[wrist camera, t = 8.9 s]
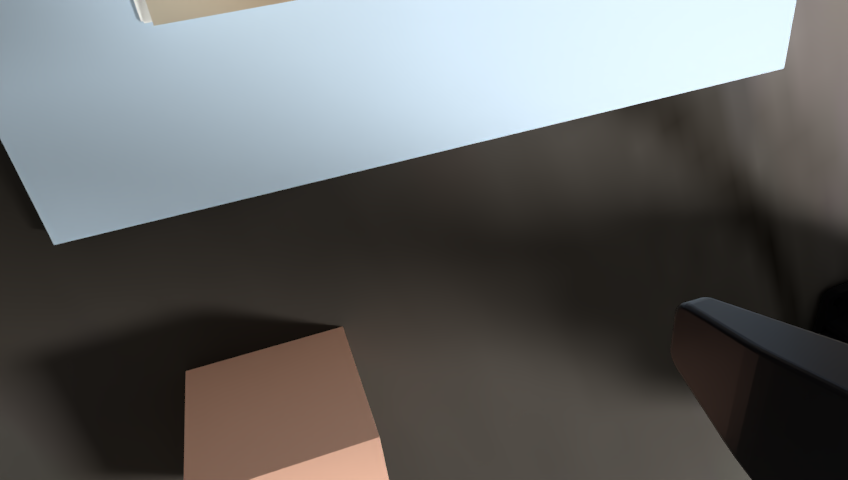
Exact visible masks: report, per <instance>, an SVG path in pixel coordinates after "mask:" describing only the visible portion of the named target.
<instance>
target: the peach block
mask: <svg viewBox="0 0 848 480" xmlns="http://www.w3.org/2000/svg"><path fill="white" fill-rule="evenodd" d="M184 480H389V478H388V474H387V469H386V464H385V460H384V455H383V451H382V446H381V441H380V437H379V434H378V431H377V428H376V425H375V422H374V419H373V416H372V413H371V410H370V407H369V404H368V401H367V398H366V395H365V392H364V389H363V386H362V383H361V380H360V377H359V374H358V371H357V368H356V365H355V362H354V359H353V356H352V353H351V350H350V347H349V344H348V341H347V338H346V335H345V332H344V329H343V327H339V328H336V329H332V330H328V331H325V332H321V333H318V334H314V335H311V336H307V337H304V338H300V339H297V340H293V341H290V342H286V343H283V344H279V345H276V346H272V347H269V348H265V349H262V350H258V351H255V352H251V353H248V354H244V355H241V356H237V357H234V358H230V359H227V360H223V361H220V362H216V363H213V364H209V365H206V366H202V367H199V368H195V369H192V370H188V371H186V377H185V431H184Z"/></svg>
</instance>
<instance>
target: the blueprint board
mask: <svg viewBox="0 0 848 480" xmlns="http://www.w3.org/2000/svg"><path fill="white" fill-rule="evenodd" d="M795 5H796V0H295V1H289V2H284V3H278V4H272V5H267V6H261V7H256V8H250V9H245V10H239V11H234V12H228V13H222V14H217V15H211V16H206V17H200V18H195V19H189V20H184V21H178V22H173V23H167V24H161V25H156V26H154V25H153V22H152V19H151V16H150V13H149V10H148V7H147V4H146V1H145V0H0V139H1V141H2V143H3V145H4V147H5V149H6V151H7V153H8V155H9V157H10V159H11V161H12V163H13V165H14V167H15V169H16V171H17V173H18V175H19V177H20V179H21V181H22V183H23V185H24V187H25V189H26V191H27V193H28V195H29V197H30V199H31V201H32V202H33V204H34V206H35V208H36V210H37V212H38V214H39V216H40V218H41V220H42V222H43V224H44V226H45V228H46V230H47V232H48V234H49V236H50V238H51V240H52V242H53V244H54V245H57V244H61V243H65V242H69V241H73V240H78V239H82V238H86V237H90V236H94V235H98V234H102V233H106V232H111V231H115V230H119V229H123V228H127V227H131V226H135V225H139V224H144V223H148V222H152V221H156V220H160V219H164V218H168V217H173V216H177V215H181V214H185V213H189V212H193V211H197V210H201V209H206V208H210V207H214V206H218V205H222V204H226V203H230V202H235V201H239V200H243V199H247V198H251V197H255V196H259V195H263V194H268V193H272V192H276V191H280V190H284V189H288V188H292V187H296V186H301V185H305V184H309V183H313V182H317V181H321V180H325V179H330V178H334V177H338V176H342V175H346V174H350V173H354V172H358V171H363V170H367V169H371V168H375V167H379V166H383V165H387V164H392V163H396V162H400V161H404V160H408V159H412V158H416V157H420V156H425V155H429V154H433V153H437V152H441V151H445V150H449V149H453V148H458V147H462V146H466V145H470V144H474V143H478V142H482V141H487V140H491V139H495V138H499V137H503V136H507V135H511V134H515V133H520V132H524V131H528V130H532V129H536V128H540V127H544V126H549V125H553V124H557V123H561V122H565V121H569V120H573V119H577V118H582V117H586V116H590V115H594V114H598V113H602V112H606V111H610V110H615V109H619V108H623V107H627V106H631V105H635V104H639V103H644V102H648V101H652V100H656V99H660V98H664V97H668V96H672V95H677V94H681V93H685V92H689V91H693V90H697V89H701V88H706V87H710V86H714V85H718V84H722V83H726V82H730V81H734V80H739V79H743V78H747V77H751V76H755V75H759V74H763V73H767V72H772V71H776V70H780V69H784V66H785V60H786V55H787V49H788V44H789V38H790V33H791V27H792V22H793V16H794V11H795Z"/></svg>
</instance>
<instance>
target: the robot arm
mask: <svg viewBox="0 0 848 480" xmlns="http://www.w3.org/2000/svg"><path fill="white" fill-rule="evenodd" d="M671 356H672V359H673V362H674V364H675V366H676V368H677V369H678V371H679V372H680V374H681V376H682V377H683V379H684V380H685V382H686V383H687V385H688V386H689V388H690V390H691V391H692V393H693V394H694V396H695V397H696V399H697V400H698V402H699V404H700V405H701V407H702V408H703V410H704V411H705V413H706V414H707V416H708V418H709V419H710V421H711V422H712V424H713V425H714V427H715V428H716V430H717V431H718V433H719V435H720V436H721V438H722V439H723V441H724V442H725V444H726V445H727V447H728V448H729V450H730V451H731V452H732V454H733V455H734V457H735V458H736V460H737V461H738V462H739V464H740V465H741V466H742V467H743V469H744V470H745V471H746V473H747V474H748V475H749V477H750V478H751V479H752V480H848V283H845V284H842V285H839V286H836V287H833V288H831V289H829V290H828V291H827V292H825V294H824V295H823V296H822V299H821V302H820V305H819V309H818V313H817V317H816V320H815V324H814V328H813V332H811V331H808V330H805V329H802V328H799V327H796V326H793V325H790V324H787V323H784V322H781V321H778V320H776V319H773V318H770V317H767V316H764V315H761V314H758V313H755V312H752V311H749V310H746V309H743V308H740V307H737V306H734V305H731V304H728V303H725V302H722V301H719V300H716V299H713V298H710V297H701V298H698V299H694V300H691V301H687V302H684V303H682V304H680V305H679V306H678V308H677V309H676V312H675V319H674V326H673V333H672V341H671Z"/></svg>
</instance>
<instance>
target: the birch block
mask: <svg viewBox="0 0 848 480" xmlns="http://www.w3.org/2000/svg"><path fill="white" fill-rule="evenodd" d="M145 1H146V4H147V7H148V10H149V13H150V16H151V19H152V22H153V25H154V26H156V25H161V24H167V23H173V22H178V21H184V20H189V19H195V18H200V17H206V16H211V15H217V14H222V13H228V12H234V11H239V10H245V9H250V8H256V7H261V6H267V5H272V4H278V3H284V2H289V1H295V0H145Z"/></svg>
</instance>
